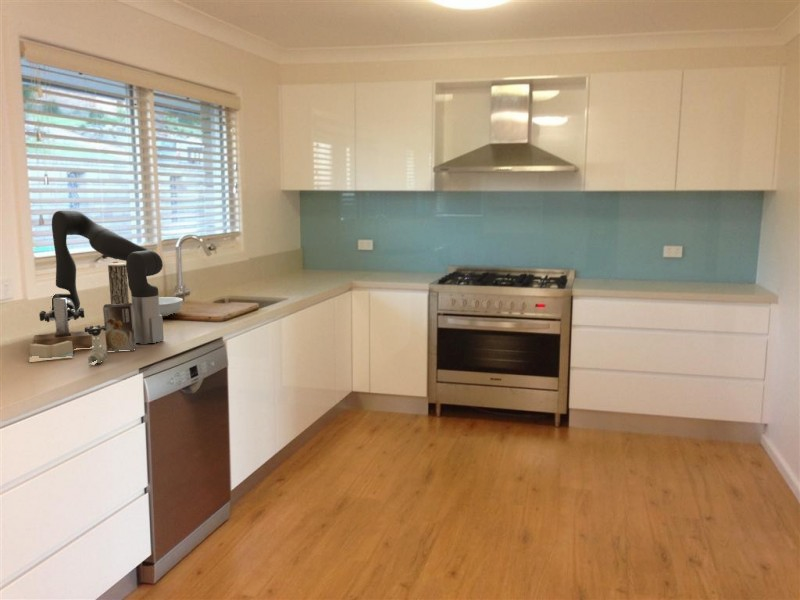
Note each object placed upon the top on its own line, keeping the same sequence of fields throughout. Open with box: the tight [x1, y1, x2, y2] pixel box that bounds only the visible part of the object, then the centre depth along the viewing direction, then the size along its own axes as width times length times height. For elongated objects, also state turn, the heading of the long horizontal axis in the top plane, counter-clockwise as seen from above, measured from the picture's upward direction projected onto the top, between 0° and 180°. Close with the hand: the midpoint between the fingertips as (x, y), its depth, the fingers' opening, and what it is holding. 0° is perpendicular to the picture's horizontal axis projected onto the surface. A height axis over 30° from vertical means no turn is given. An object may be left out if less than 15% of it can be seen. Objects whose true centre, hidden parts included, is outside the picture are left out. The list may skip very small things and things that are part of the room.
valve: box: [84, 324, 108, 364], centre depth 219 cm, size 7×7×12 cm
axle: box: [53, 298, 70, 337], centre depth 237 cm, size 4×4×18 cm
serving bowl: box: [159, 296, 184, 316], centre depth 296 cm, size 21×21×7 cm
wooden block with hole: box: [32, 330, 93, 349], centre depth 238 cm, size 18×8×5 cm, turn 114°
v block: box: [29, 341, 75, 358], centre depth 228 cm, size 10×13×4 cm
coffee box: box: [102, 302, 137, 352], centre depth 236 cm, size 9×6×16 cm
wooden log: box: [107, 262, 130, 304], centre depth 277 cm, size 7×7×25 cm
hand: (61, 318), depth 237 cm, fingers open, 8 cm apart
